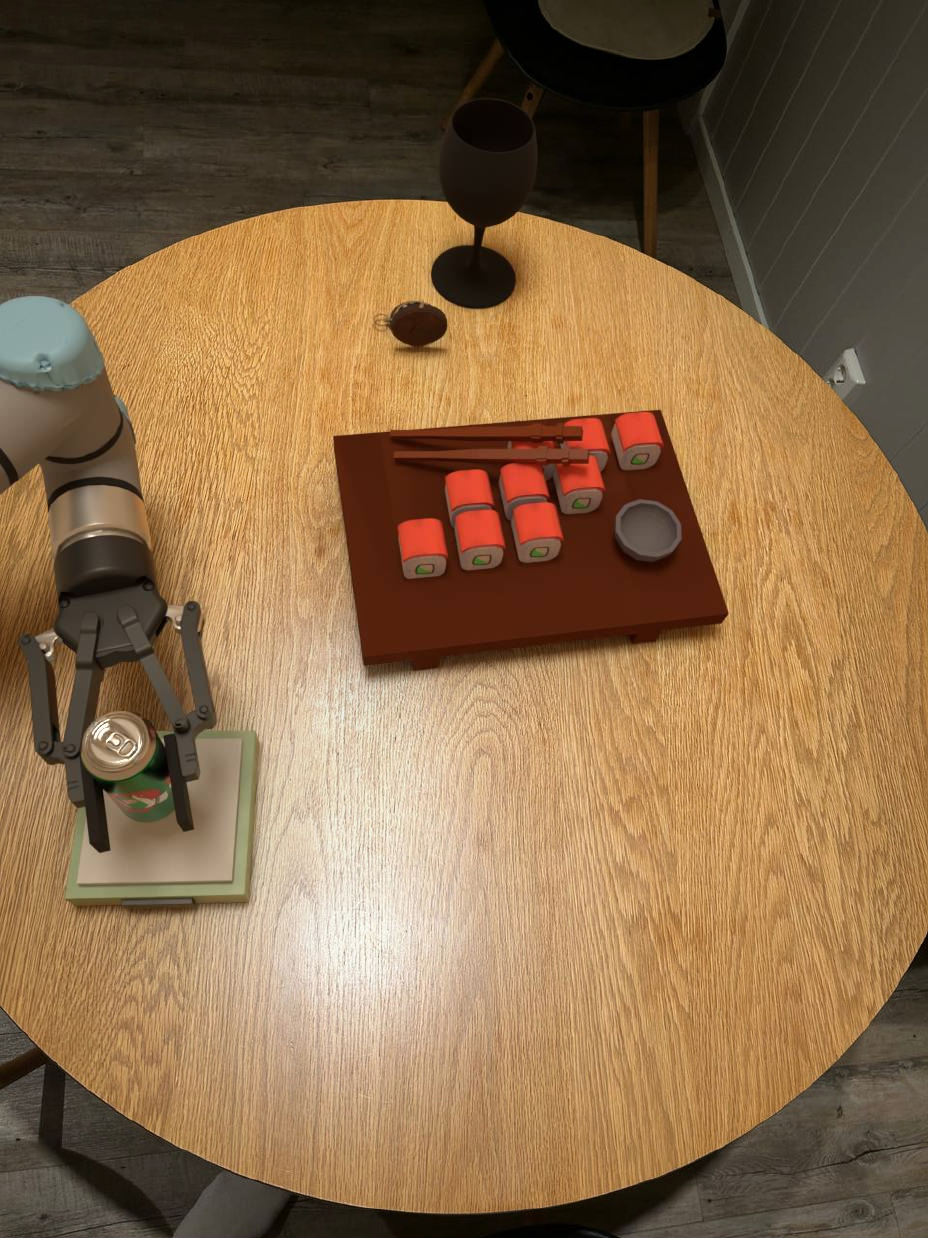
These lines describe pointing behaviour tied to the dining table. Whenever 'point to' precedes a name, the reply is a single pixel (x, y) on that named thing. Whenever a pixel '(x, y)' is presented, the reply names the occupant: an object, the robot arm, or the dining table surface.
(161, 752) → the soda can
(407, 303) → the compass
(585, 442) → the sushi
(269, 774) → the dining table surface
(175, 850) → the scale
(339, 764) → the dining table surface
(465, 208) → the wine glass
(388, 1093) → the dining table surface
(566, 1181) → the dining table surface
